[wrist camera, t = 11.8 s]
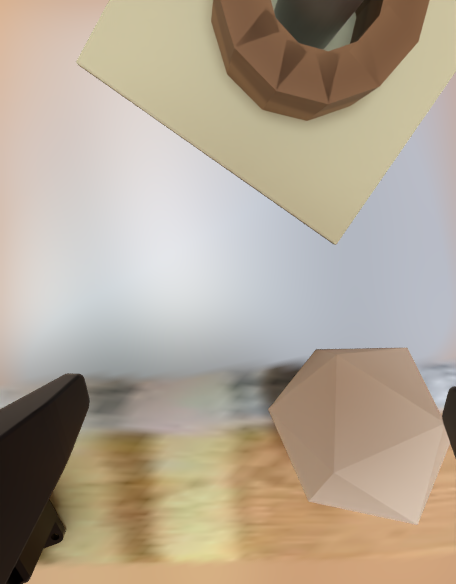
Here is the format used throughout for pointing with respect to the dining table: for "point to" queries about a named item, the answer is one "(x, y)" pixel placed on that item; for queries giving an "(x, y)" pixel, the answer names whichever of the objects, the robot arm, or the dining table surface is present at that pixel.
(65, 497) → the dining table surface
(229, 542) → the dining table surface
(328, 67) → the bead
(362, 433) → the die
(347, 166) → the mat
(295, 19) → the grey rounded peg
